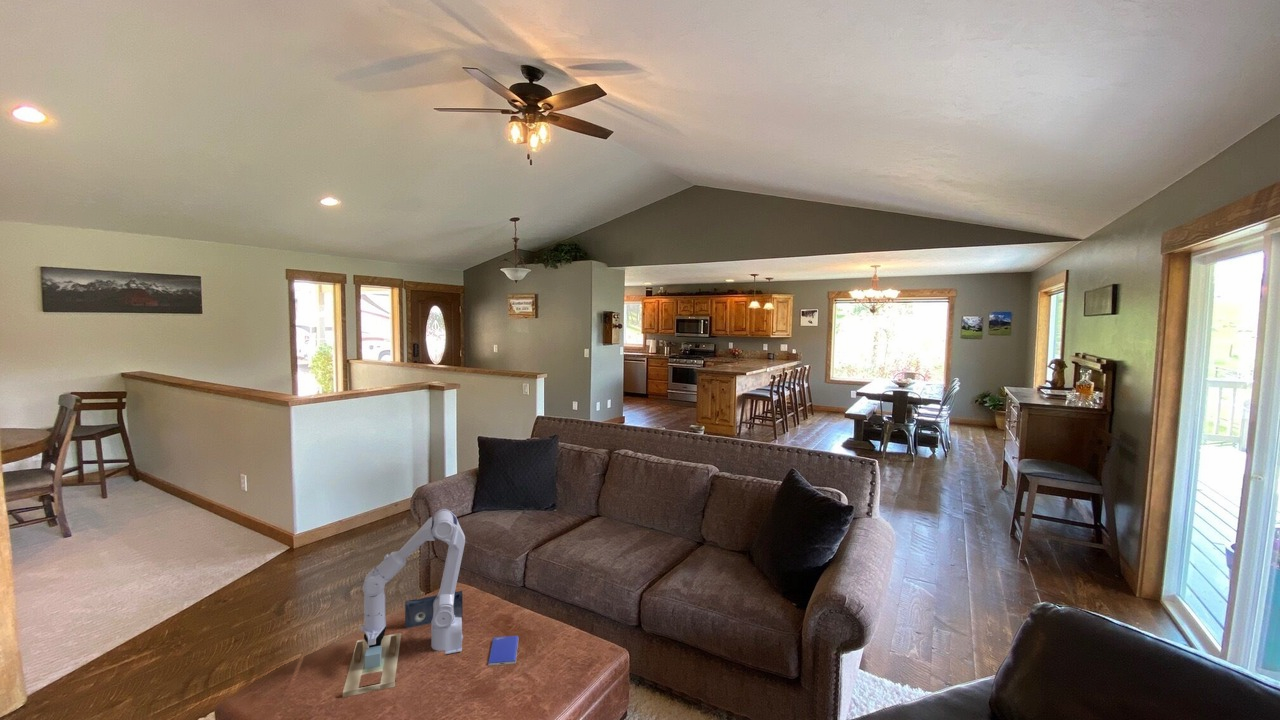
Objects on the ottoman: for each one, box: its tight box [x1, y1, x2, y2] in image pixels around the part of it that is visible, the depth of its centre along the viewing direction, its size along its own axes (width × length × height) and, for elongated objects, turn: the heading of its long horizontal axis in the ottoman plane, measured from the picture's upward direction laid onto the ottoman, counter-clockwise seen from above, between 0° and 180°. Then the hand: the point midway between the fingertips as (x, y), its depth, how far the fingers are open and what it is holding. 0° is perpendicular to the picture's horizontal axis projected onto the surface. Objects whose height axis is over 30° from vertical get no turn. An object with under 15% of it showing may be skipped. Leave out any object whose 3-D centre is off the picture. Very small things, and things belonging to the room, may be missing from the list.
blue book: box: [487, 635, 519, 667], centre depth 162 cm, size 2×8×12 cm
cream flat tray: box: [342, 632, 402, 698], centre depth 154 cm, size 13×24×4 cm, turn 21°
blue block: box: [365, 645, 382, 669], centre depth 153 cm, size 4×4×4 cm
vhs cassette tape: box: [404, 590, 464, 629], centre depth 175 cm, size 18×3×10 cm, turn 114°
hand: (375, 653), depth 156 cm, fingers closed
